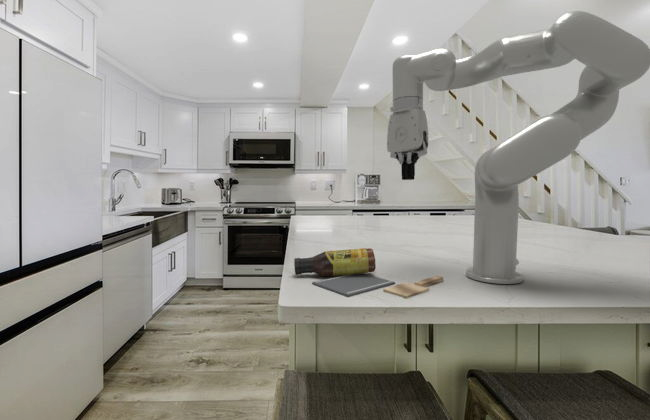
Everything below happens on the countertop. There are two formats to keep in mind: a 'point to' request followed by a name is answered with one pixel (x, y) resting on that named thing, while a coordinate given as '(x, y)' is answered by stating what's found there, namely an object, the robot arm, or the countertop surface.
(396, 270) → the countertop surface
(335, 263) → the sauce bottle
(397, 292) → the turner
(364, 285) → the mat
